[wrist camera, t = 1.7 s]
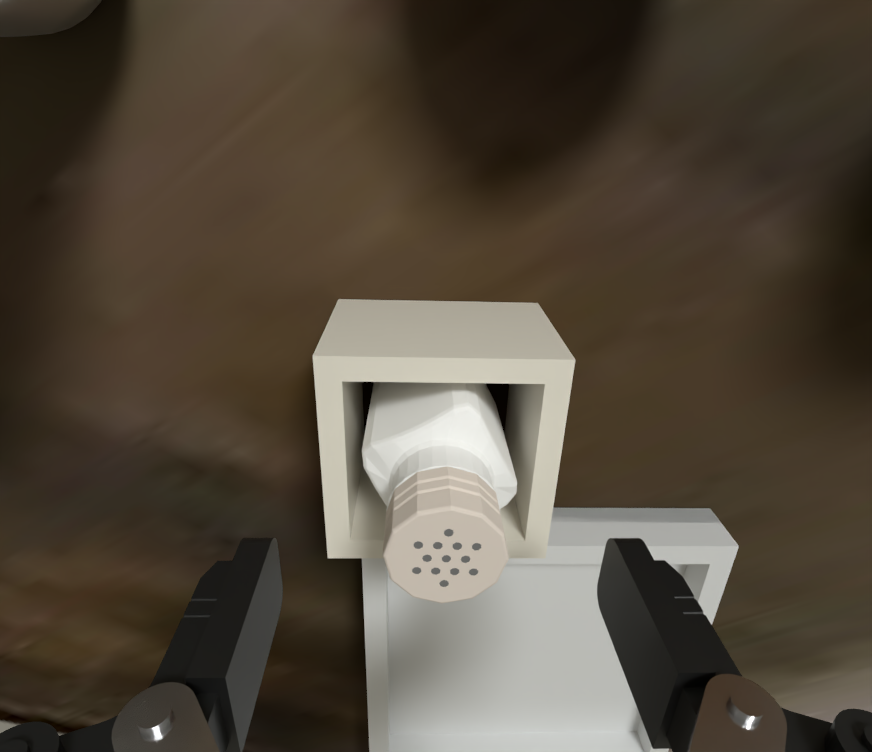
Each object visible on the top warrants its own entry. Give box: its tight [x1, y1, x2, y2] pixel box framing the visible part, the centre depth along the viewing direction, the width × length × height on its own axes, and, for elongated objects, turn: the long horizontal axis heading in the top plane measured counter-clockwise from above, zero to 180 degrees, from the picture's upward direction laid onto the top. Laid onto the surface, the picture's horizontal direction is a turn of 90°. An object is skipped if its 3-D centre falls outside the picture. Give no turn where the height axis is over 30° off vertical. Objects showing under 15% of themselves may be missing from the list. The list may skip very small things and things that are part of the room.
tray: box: [362, 508, 739, 752], centre depth 27 cm, size 16×16×2 cm
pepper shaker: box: [362, 382, 517, 603], centre depth 18 cm, size 4×4×10 cm
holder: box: [313, 299, 575, 558], centre depth 20 cm, size 8×8×6 cm
